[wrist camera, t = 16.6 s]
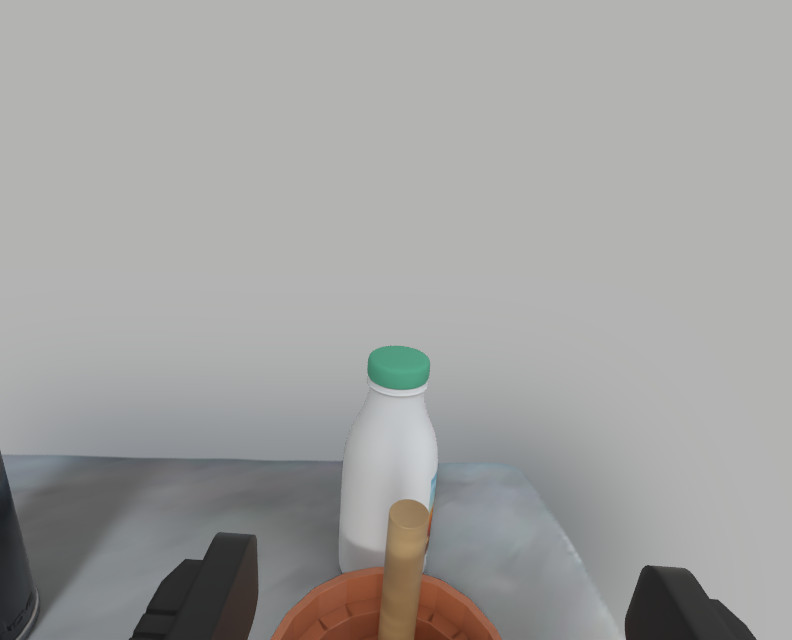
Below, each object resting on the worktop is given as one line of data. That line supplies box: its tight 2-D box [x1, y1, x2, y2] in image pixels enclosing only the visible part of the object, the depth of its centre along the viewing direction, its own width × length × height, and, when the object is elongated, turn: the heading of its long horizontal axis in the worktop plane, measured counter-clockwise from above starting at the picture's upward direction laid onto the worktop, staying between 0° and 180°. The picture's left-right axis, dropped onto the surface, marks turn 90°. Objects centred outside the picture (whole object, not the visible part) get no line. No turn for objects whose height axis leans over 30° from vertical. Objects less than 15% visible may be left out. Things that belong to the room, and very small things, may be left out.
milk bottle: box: [339, 346, 438, 574], centre depth 38 cm, size 8×8×20 cm
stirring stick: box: [378, 499, 430, 640], centre depth 26 cm, size 4×4×17 cm
